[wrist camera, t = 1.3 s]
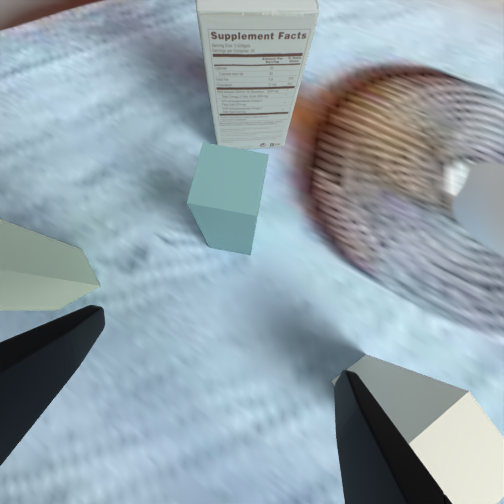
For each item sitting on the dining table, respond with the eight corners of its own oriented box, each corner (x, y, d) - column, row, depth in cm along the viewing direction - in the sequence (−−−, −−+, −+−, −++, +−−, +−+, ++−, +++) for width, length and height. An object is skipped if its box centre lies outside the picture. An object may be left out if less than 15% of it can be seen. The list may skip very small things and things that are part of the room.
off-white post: (359, 424, 20) (468, 531, 11) (330, 381, 21) (408, 443, 11) (394, 395, 21) (528, 471, 11) (366, 354, 22) (468, 391, 12)
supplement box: (213, 95, 27) (190, -80, 15) (278, 94, 28) (307, -78, 15) (215, 152, 26) (192, 9, 13) (284, 150, 26) (323, 8, 14)
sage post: (57, 310, 21) (-97, 311, 12) (40, 272, 22) (-120, 242, 12) (100, 285, 22) (-12, 267, 12) (82, 249, 23) (-38, 204, 13)
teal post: (250, 255, 23) (256, 216, 13) (209, 247, 23) (186, 202, 13) (257, 216, 24) (268, 154, 14) (218, 209, 24) (202, 142, 14)
